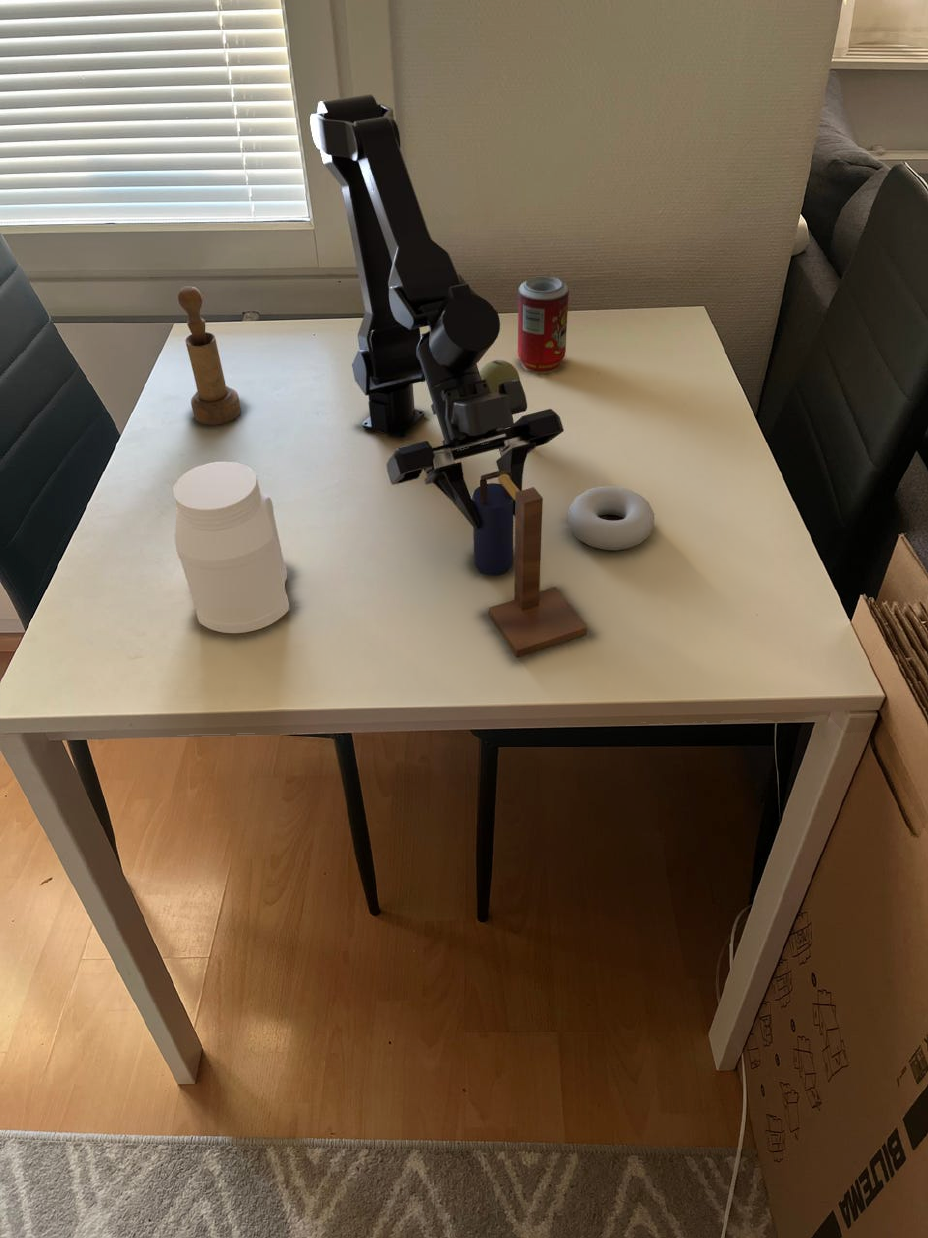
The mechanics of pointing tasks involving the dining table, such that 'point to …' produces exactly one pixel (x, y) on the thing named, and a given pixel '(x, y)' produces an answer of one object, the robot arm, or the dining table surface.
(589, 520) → the donut
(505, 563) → the blue handled weight
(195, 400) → the mortar and pestle
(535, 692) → the dining table surface
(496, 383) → the light bulb
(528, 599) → the hook stand
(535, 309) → the soda can
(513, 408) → the robot arm
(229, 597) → the jar
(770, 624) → the dining table surface
